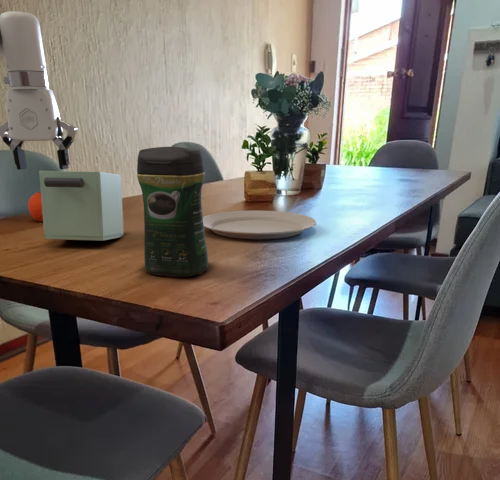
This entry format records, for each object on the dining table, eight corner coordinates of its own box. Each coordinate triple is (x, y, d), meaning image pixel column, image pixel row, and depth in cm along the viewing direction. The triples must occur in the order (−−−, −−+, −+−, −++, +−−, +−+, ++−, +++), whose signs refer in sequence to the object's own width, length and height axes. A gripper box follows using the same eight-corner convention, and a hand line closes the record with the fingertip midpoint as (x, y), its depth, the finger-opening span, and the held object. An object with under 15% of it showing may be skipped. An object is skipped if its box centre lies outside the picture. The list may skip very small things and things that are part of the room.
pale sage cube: (96, 241, 90) (92, 170, 87) (35, 240, 90) (29, 169, 87) (123, 236, 103) (121, 175, 100) (70, 235, 104) (66, 174, 101)
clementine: (71, 219, 120) (67, 188, 117) (62, 225, 114) (58, 192, 111) (36, 219, 120) (31, 188, 117) (26, 225, 113) (20, 192, 110)
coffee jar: (214, 267, 83) (211, 146, 75) (195, 281, 76) (190, 148, 68) (160, 262, 85) (152, 144, 78) (137, 275, 78) (126, 147, 71)
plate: (327, 242, 100) (327, 232, 99) (196, 243, 98) (196, 233, 97) (305, 218, 123) (305, 210, 123) (199, 219, 122) (199, 210, 121)
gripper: (-21, 82, 103) (-4, 170, 109) (61, 80, 101) (74, 170, 108) (-1, 84, 109) (14, 167, 116) (76, 82, 108) (87, 167, 115)
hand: (43, 168), depth 112 cm, fingers open, 9 cm apart
